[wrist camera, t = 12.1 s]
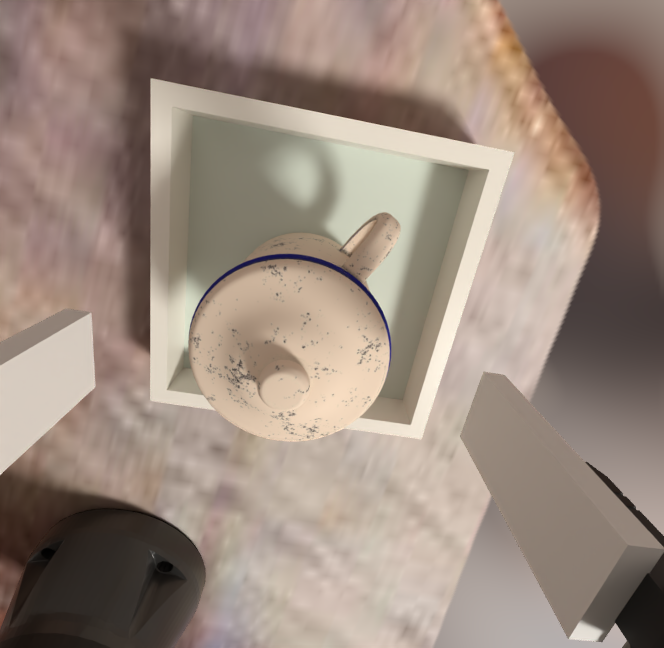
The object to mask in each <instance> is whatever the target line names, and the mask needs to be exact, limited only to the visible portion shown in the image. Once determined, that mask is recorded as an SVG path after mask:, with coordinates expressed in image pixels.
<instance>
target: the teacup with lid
mask: <svg viewBox="0 0 664 648" xmlns="http://www.w3.org/2000/svg"><path fill="white" fill-rule="evenodd" d="M400 231H401V226H400V224H399V222H398V221H397V220H396V219H395V218H394V217H393V216H392V215H391V214H389V213H387V212H382V213H379V214H376V215H375V216H373V217H372V218H370V219H369V220H368V221H366V222H365V223H364V224H363V225H362V226H361V227H360V228H359V229H358V230H357V231H356V232H355V233H354V234H353V235H352V236H351V237H350V238H349V239H348V240H347V241H346V243H345V244H344V245H343V246H341V245H339V244H338V243H336V242H335V241H333V240H331V239H329V238H326V237H323V236H320V235H317V234H312V233H302V232H300V233H288V234H284V235H280V236H277V237H274V238H272V239H270V240H268V241H266V242H264V243H263V244H261V245H260V246H259V247H257V248H256V249H255V250H254V251H253V252H252V253H251V254H250V255H249V256H248V257H247V258H246V259H245V260H244V261H243V262H242V263H241V264H239V265H237V266H235V267H234V268H232V269H230V270H229V271H227V272H226V273H225V274H223V275H222V276H221V277H219V278H218V279H217V280H216V281H215V282H214V283H213V284H212V285H211V286H210V287H209V289H208V290H207V291H206V292H205V294H204V295H203V297H202V298H201V300H200V301H199V303H198V305H197V307H196V309H195V312H194V314H193V317H192V320H191V324H190V330H189V340H188V350H189V360H190V365H191V369H192V372H193V376H194V378H195V380H196V383H197V385H198V387H199V389H200V390H201V392H202V394H203V395H204V397H205V398H206V400H207V401H208V402H209V403H210V405H211V406H212V407H213V408H214V409H215V410H216V411H217V412H218V413H219V414H220V415H221V416H222V417H224V418H225V419H226V420H228V421H229V422H230V423H232V424H233V425H235V426H237V427H238V428H240V429H242V430H244V431H246V432H248V433H251V434H254V435H256V436H259V437H263V438H267V439H271V440H278V441H290V442H292V441H307V440H313V439H318V438H321V437H325V436H328V435H330V434H333V433H335V432H337V431H339V430H341V429H343V428H345V427H347V426H348V425H350V424H351V423H353V422H354V421H355V420H357V419H358V418H359V417H360V416H361V415H362V414H364V412H365V411H366V410H367V409H368V408H369V407H370V406H371V405H372V403H373V402H374V401H375V399H376V398H377V396H378V395H379V393H380V391H381V389H382V387H383V384H384V382H385V380H386V377H387V374H388V371H389V367H390V361H391V337H390V332H389V327H388V324H387V321H386V318H385V316H384V313H383V311H382V309H381V307H380V306H379V304H378V302H377V301H376V299H375V298H374V296H373V295H372V294H371V292H370V290H369V287H368V284H367V281H366V279H367V278H368V277H369V276H370V275H371V274H372V273H373V272H374V271H375V270H376V268H377V267H378V266H379V265H380V264H381V263H382V262H383V260H384V259H385V258H386V257H387V255H388V254H389V253H390V251H391V250H392V248H393V247H394V245H395V244H396V242H397V240H398V238H399V235H400Z"/></svg>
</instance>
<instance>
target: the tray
mask: <svg viewBox="0 0 664 648" xmlns="http://www.w3.org/2000/svg"><path fill="white" fill-rule="evenodd" d="M514 153H515V152H511V151H506V150H501V149H496V148H491V147H486V146H481V145H476V144H471V143H466V142H462V141H457V140H452V139H447V138H442V137H437V136H432V135H427V134H422V133H417V132H413V131H408V130H403V129H398V128H393V127H388V126H383V125H378V124H373V123H368V122H363V121H359V120H354V119H349V118H344V117H339V116H334V115H329V114H324V113H319V112H314V111H310V110H305V109H300V108H295V107H290V106H285V105H280V104H275V103H270V102H265V101H260V100H256V99H251V98H246V97H241V96H236V95H231V94H226V93H221V92H216V91H211V90H207V89H202V88H197V87H192V86H187V85H182V84H177V83H172V82H167V81H162V80H158V79H153V78H151V249H150V401H154V402H161V403H168V404H175V405H182V406H189V407H196V408H203V409H210V410H215V409H214V408H213V407H212V406H211V405H210V403H209V402H208V401H207V400H206V398H205V397H204V395H203V394H202V392H201V390H200V389H199V387H198V385H197V383H196V380H195V378H194V376H193V372H192V369H191V365H190V360H189V350H188V340H189V330H190V324H191V320H192V317H193V314H194V312H195V309H196V307H197V305H198V303H199V301H200V300H201V298H202V297H203V295H204V294H205V292H206V291H207V290H208V289H209V287H210V286H211V285H212V284H213V283H214V282H215V281H216V280H217V279H218V278H219V277H221V276H222V275H223V274H225V273H226V272H227V271H229V270H230V269H232V268H234V267H235V266H237V265H239V264H241V263H242V262H243V261H244V260H245V259H246V258H247V257H248V256H249V255H250V254H251V253H252V252H253V251H254V250H255V249H256V248H257V247H259V246H260V245H261V244H263V243H264V242H266V241H268V240H270V239H272V238H274V237H277V236H280V235H284V234H288V233H300V232H302V233H312V234H317V235H320V236H323V237H326V238H329V239H331V240H333V241H335V242H336V243H338V244H339V245H341V246H343V245H344V244H345V243H346V241H347V240H348V239H349V238H350V237H351V236H352V235H353V234H354V233H355V232H356V231H357V230H358V229H359V228H360V227H361V226H362V225H363V224H364V223H365V222H366V221H368V220H369V219H370V218H372V217H373V216H375V215H376V214H379V213H382V212H387V213H389V214H391V215H392V216H393V217H394V218H395V219H396V220H397V221H398V222H399V224H400V226H401V231H400V235H399V238H398V240H397V242H396V244H395V245H394V247H393V248H392V250H391V251H390V253H389V254H388V255H387V257H386V258H385V259H384V260H383V262H382V263H381V264H380V265H379V266H378V267H377V268H376V270H375V271H374V272H373V273H372V274H371V275H370V276H369V277H368V278H367V279H366V281H367V284H368V287H369V290H370V292H371V294H372V295H373V296H374V298H375V299H376V301H377V302H378V304H379V306H380V307H381V309H382V311H383V313H384V316H385V318H386V321H387V324H388V327H389V332H390V337H391V361H390V367H389V371H388V374H387V377H386V380H385V382H384V384H383V387H382V389H381V391H380V393H379V395H378V396H377V398H376V399H375V401H374V402H373V403H372V405H371V406H370V407H369V408H368V409H367V410H366V411H365V412H364V414H362V415H361V416H360V417H359V418H358V419H357V420H355V421H354V422H353V423H351V424H350V425H348V426H347V427H345V429H352V430H359V431H366V432H374V433H381V434H388V435H395V436H402V437H409V438H416V439H422V436H423V433H424V430H425V427H426V423H427V420H428V417H429V414H430V411H431V408H432V405H433V402H434V399H435V396H436V393H437V390H438V387H439V384H440V380H441V377H442V374H443V371H444V368H445V365H446V362H447V359H448V356H449V353H450V350H451V347H452V344H453V340H454V337H455V334H456V331H457V328H458V325H459V322H460V319H461V316H462V313H463V310H464V307H465V304H466V301H467V297H468V294H469V291H470V288H471V285H472V282H473V279H474V276H475V273H476V270H477V267H478V264H479V261H480V257H481V254H482V251H483V248H484V245H485V242H486V239H487V236H488V233H489V230H490V227H491V224H492V221H493V218H494V214H495V211H496V208H497V205H498V202H499V199H500V196H501V193H502V190H503V187H504V184H505V181H506V178H507V174H508V171H509V168H510V165H511V162H512V159H513V156H514Z"/></svg>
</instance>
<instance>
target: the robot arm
mask: <svg viewBox="0 0 664 648" xmlns="http://www.w3.org/2000/svg"><path fill="white" fill-rule="evenodd" d="M94 388H95V371H94V353H93V334H92V315H91V312H86V311H79V310H72V309H64V310H62V311H60V312H58V313H57V314H55V315H53V316H51V317H49V318H47V319H45V320H43V321H41V322H39V323H37V324H35V325H33V326H31V327H29V328H27V329H25V330H23V331H21V332H19V333H17V334H15V335H13V336H12V337H10V338H8V339H6V340H4V341H2V342H0V475H1V474H2V473H3V472H4V471H5V470H6V469H7V468H8V467H9V466H10V465H11V464H12V463H14V462H15V461H16V460H17V459H18V458H19V457H20V456H21V455H22V454H23V453H24V452H25V451H27V450H28V449H29V448H30V447H31V446H32V445H33V444H34V443H35V442H36V441H37V440H38V439H40V438H41V437H42V436H43V435H44V434H45V433H46V432H47V431H48V430H49V429H50V428H51V427H53V426H54V425H55V424H56V423H57V422H58V421H59V420H60V419H61V418H62V417H63V416H64V415H66V414H67V413H68V412H69V411H70V410H71V409H72V408H73V407H74V406H75V405H76V404H77V403H79V402H80V401H81V400H82V399H83V398H84V397H85V396H86V395H87V394H88V393H89V392H90V391H92V390H93V389H94ZM460 437H461V439H462V441H463V443H464V445H465V446H466V448H467V450H468V452H469V454H470V456H471V458H472V459H473V461H474V463H475V465H476V467H477V469H478V471H479V473H480V474H481V476H482V478H483V480H484V482H485V484H486V486H487V488H488V489H489V491H490V493H491V495H492V497H493V499H494V500H495V502H496V504H497V506H498V508H499V510H500V512H501V514H502V516H503V517H504V519H505V521H506V523H507V525H508V527H509V529H510V531H511V532H512V534H513V536H514V538H515V540H516V542H517V544H518V546H519V547H520V549H521V551H522V553H523V555H524V557H525V559H526V561H527V562H528V564H529V566H530V568H531V570H532V571H533V574H534V576H535V577H536V579H537V581H538V583H539V585H540V587H541V589H542V591H543V592H544V594H545V596H546V598H547V600H548V602H549V604H550V605H551V607H552V609H553V611H554V613H555V615H556V616H557V619H558V620H559V622H560V624H561V626H562V628H563V630H564V632H565V633H566V635H567V637H568V639H574V640H585V641H596V642H603V640H604V639H605V637H606V635H607V634H608V633H609V631H610V630H611V628H612V627H613V626H614V624H615V623H616V624H617V625H618V627H619V629H620V630H621V632H622V633H623V635H624V636H625V638H626V639H627V642H626V643H625V644H624V646H623V647H622V648H664V536H663V535H662V534H661V533H660V532H659V531H658V530H657V529H656V528H655V527H654V526H653V524H652V523H651V522H650V521H649V520H648V519H647V518H646V517H645V516H644V515H643V514H642V513H641V512H640V511H638V510H636V507H635V506H634V504H633V503H632V502H631V501H630V500H629V499H628V498H627V497H625V496H623V493H622V492H621V491H620V490H619V489H618V488H617V487H616V486H615V485H614V483H613V482H612V481H611V480H610V479H609V478H608V477H607V476H605V475H604V474H603V473H601V472H600V471H598V470H597V469H596V468H594V467H593V466H592V465H590V464H589V463H588V462H584V461H583V459H582V458H581V457H580V456H579V455H578V454H577V453H576V452H575V451H574V450H573V449H572V448H571V446H569V444H568V443H567V442H566V441H565V440H564V439H563V438H562V437H561V436H560V435H559V433H557V431H556V430H555V429H554V428H553V427H552V426H551V425H550V424H549V423H548V422H547V421H546V419H545V418H543V416H542V415H541V414H540V413H539V412H538V411H537V410H536V409H535V408H534V406H533V405H532V404H531V403H530V402H529V401H528V400H527V399H526V398H525V397H524V396H523V395H522V393H521V392H520V391H519V390H518V389H517V388H516V387H515V386H514V385H513V384H512V383H511V382H510V381H509V379H508V378H507V377H506V376H505V375H501V374H495V373H488V372H483V375H482V377H481V380H480V383H479V386H478V388H477V391H476V394H475V397H474V399H473V402H472V405H471V408H470V411H469V413H468V416H467V419H466V422H465V424H464V427H463V430H462V433H461V435H460ZM205 578H206V572H205V566H204V563H203V560H202V557H201V556H200V554H199V552H198V550H197V549H196V548H195V546H194V545H193V544H192V543H191V542H190V541H189V540H188V539H187V538H186V537H185V536H184V535H183V534H182V533H180V532H179V531H177V530H176V529H174V528H173V527H171V526H170V525H168V524H166V523H164V522H162V521H160V520H158V519H155V518H153V517H150V516H147V515H144V514H140V513H136V512H131V511H125V510H116V509H100V510H91V511H85V512H81V513H77V514H75V515H72V516H69V517H67V518H65V519H63V520H62V521H60V522H59V523H57V524H56V525H55V526H54V527H52V528H51V529H50V531H49V532H48V533H47V534H46V536H45V537H44V538H43V539H42V541H41V542H40V543H39V545H38V546H37V547H36V548H35V550H34V551H33V552H32V554H31V555H30V557H29V559H28V561H27V563H26V565H25V568H24V570H23V573H22V575H21V578H20V580H19V583H18V585H17V588H16V590H15V593H14V595H13V598H12V601H11V603H10V606H9V608H8V611H7V613H6V616H5V618H4V621H3V623H2V626H1V629H0V648H174V646H175V644H176V643H177V641H178V640H179V638H180V637H181V635H182V633H183V632H184V630H185V629H186V627H187V626H188V624H189V622H190V621H191V619H192V618H193V616H194V614H195V612H196V609H197V607H198V604H199V601H200V597H201V594H202V591H203V587H204V584H205Z"/></svg>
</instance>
